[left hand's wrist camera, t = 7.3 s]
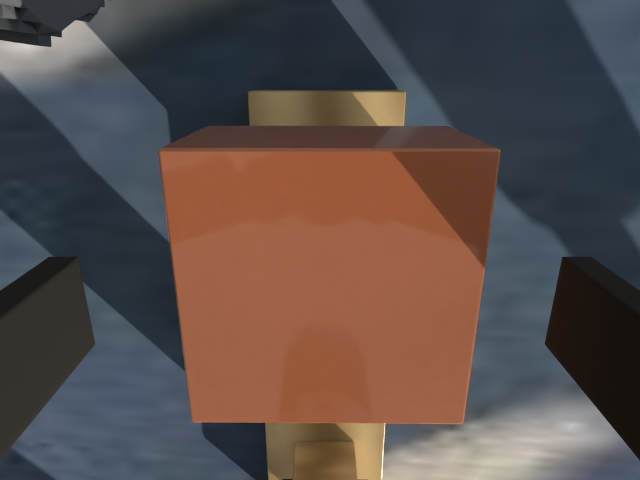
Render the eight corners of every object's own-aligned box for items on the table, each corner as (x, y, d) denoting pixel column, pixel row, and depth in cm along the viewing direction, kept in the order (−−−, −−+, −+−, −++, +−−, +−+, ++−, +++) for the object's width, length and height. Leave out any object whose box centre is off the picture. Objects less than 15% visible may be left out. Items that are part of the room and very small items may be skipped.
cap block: (449, 125, 16) (502, 149, 11) (429, 336, 19) (464, 425, 14) (206, 125, 16) (156, 148, 11) (224, 334, 19) (190, 423, 14)
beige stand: (399, 89, 25) (484, 111, 12) (376, 497, 35) (406, 750, 22) (253, 89, 25) (173, 111, 12) (273, 496, 35) (242, 747, 22)
